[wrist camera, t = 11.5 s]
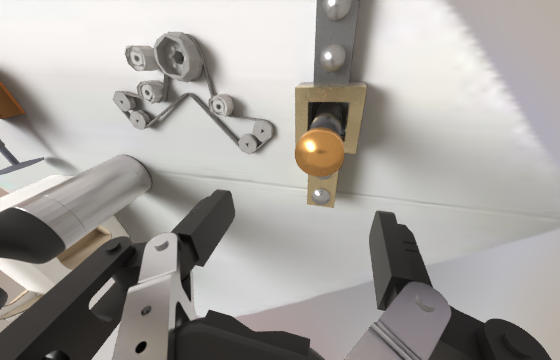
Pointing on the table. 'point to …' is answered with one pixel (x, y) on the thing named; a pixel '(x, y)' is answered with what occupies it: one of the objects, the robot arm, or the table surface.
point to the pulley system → (172, 66)
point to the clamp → (3, 107)
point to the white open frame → (54, 271)
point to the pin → (322, 143)
